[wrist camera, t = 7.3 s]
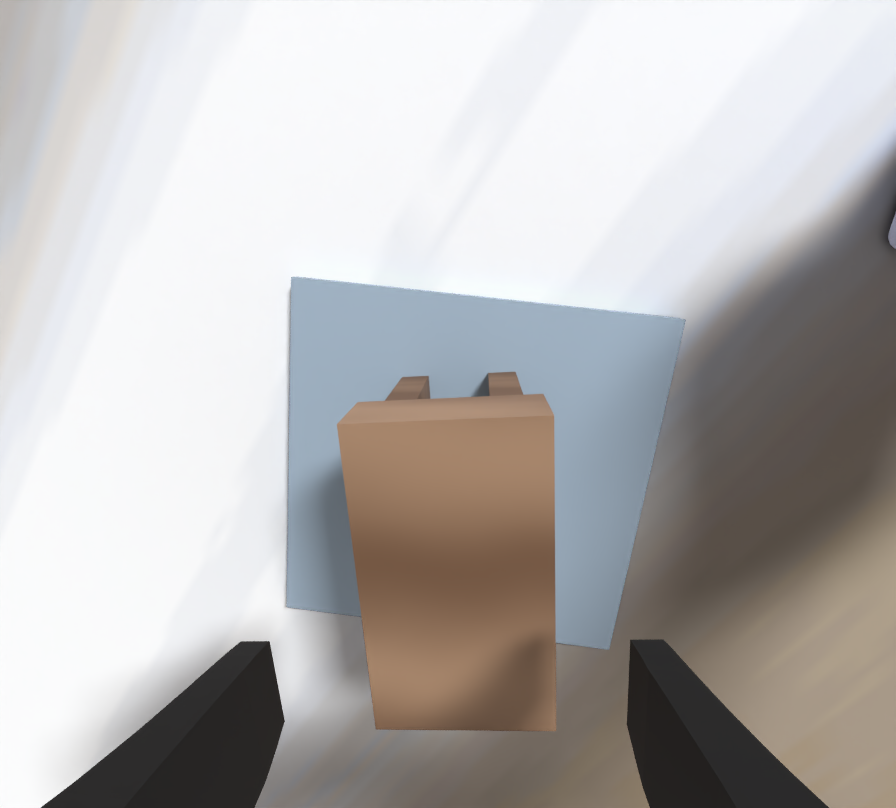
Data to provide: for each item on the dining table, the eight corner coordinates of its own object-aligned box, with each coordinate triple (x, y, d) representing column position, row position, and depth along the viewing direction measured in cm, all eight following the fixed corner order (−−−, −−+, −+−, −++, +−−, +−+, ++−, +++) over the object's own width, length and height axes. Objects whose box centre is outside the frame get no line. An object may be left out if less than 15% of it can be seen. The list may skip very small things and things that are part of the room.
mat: (678, 318, 17) (685, 319, 17) (605, 639, 21) (608, 649, 21) (297, 276, 18) (291, 277, 17) (291, 598, 22) (286, 607, 21)
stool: (530, 575, 20) (556, 731, 13) (410, 577, 20) (376, 729, 14) (526, 359, 18) (554, 415, 11) (390, 367, 18) (336, 424, 11)
